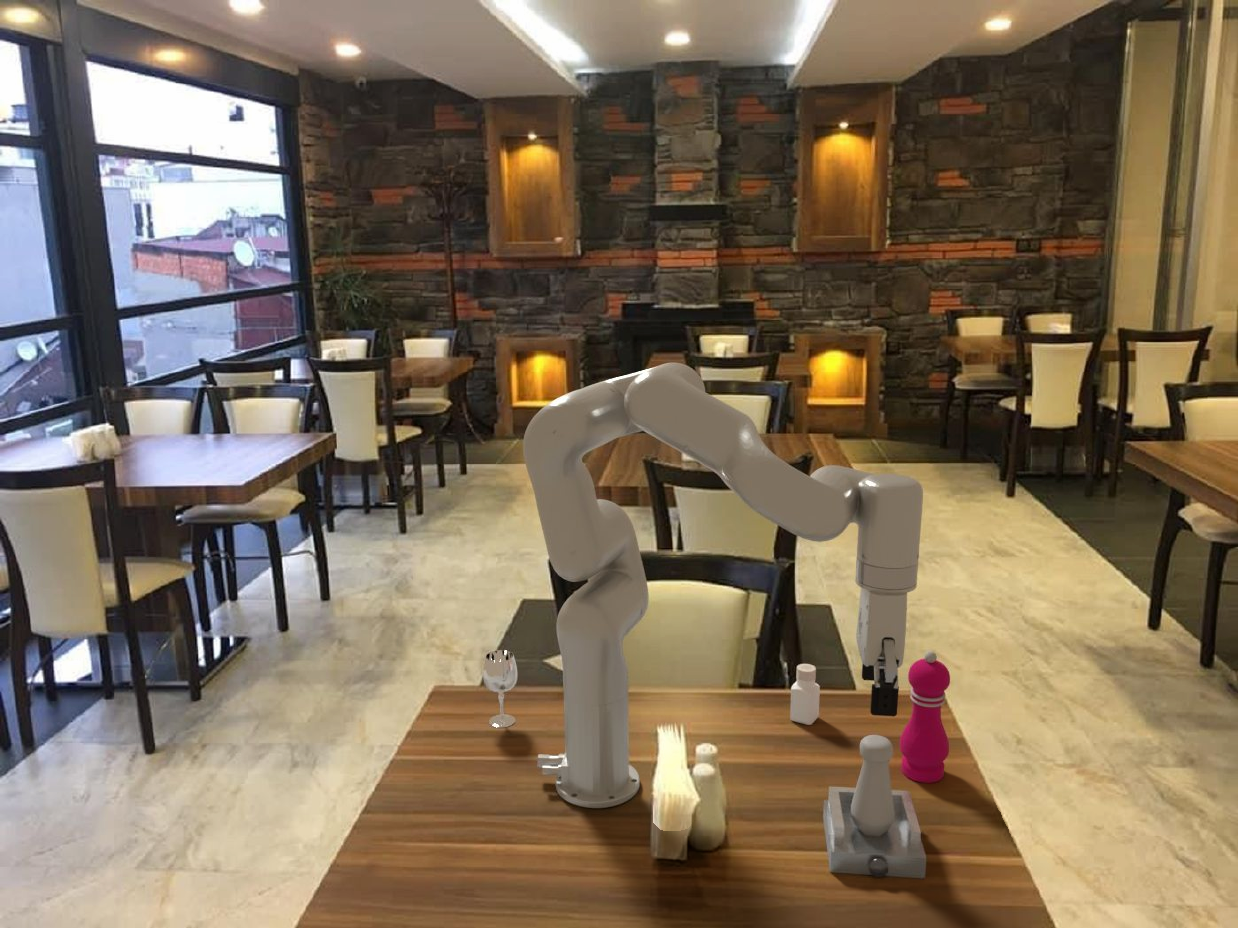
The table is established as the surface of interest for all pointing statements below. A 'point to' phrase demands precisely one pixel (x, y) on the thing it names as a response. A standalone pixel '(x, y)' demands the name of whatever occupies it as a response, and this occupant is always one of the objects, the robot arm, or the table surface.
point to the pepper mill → (926, 722)
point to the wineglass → (500, 681)
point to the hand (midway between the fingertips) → (878, 696)
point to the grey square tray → (873, 839)
